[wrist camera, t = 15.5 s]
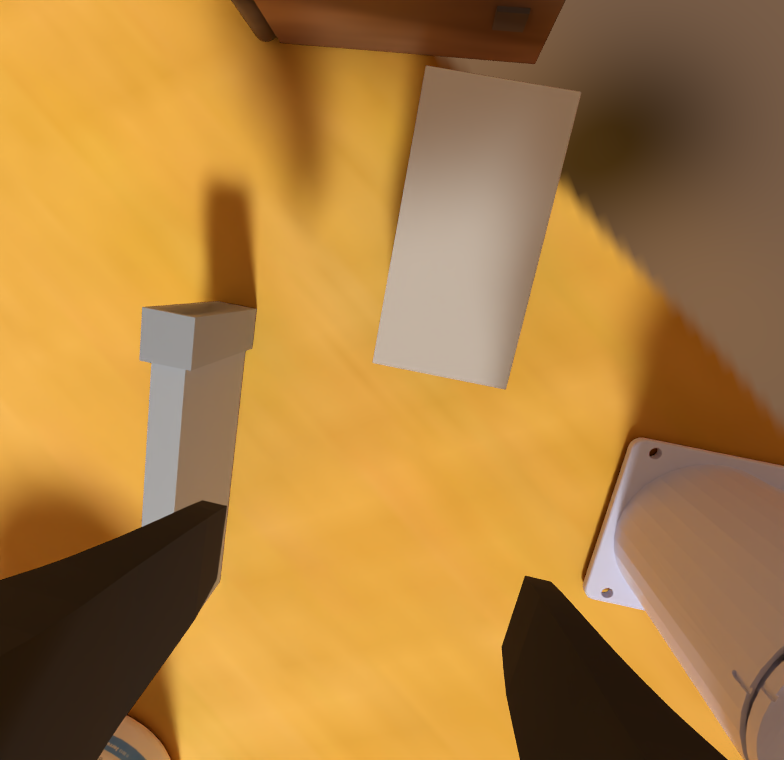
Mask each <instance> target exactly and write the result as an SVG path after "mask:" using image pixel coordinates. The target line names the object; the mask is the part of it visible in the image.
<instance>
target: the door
mask: <svg viewBox="0 0 784 760" xmlns="http://www.w3.org/2000/svg"><path fill="white" fill-rule="evenodd" d="M231 1H232V2H233V4H234V5H235V7H236V8H237V9H238V11H239V12H240V14H241V15H242V17H243V18H244V19H245V21H246V22H247V24H248V25H249V27H250V28H251V29H252V31H253V32H254V34H255V35H256V37H257V38H258V39H260V40H261V41H265V42H267V41H271V40H272V39H274V38H275V36H276V37H277V38H278V40H279V42H280V43H288V44H300V45H312V46H324V47H336V48H348V49H360V50H372V51H384V52H396V53H408V54H420V55H432V56H444V57H456V58H468V59H480V60H493V61H504V62H517V63H529V64H535V63H536V61H537V59H538V56H539V54H540V52H541V50H542V48H543V46H544V44H545V42H546V40H547V38H548V36H549V34H550V31H551V29H552V27H553V25H554V23H555V21H556V19H557V17H558V15H559V13H560V11H561V9H562V6H563V4H564V2H565V0H231Z"/></svg>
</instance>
